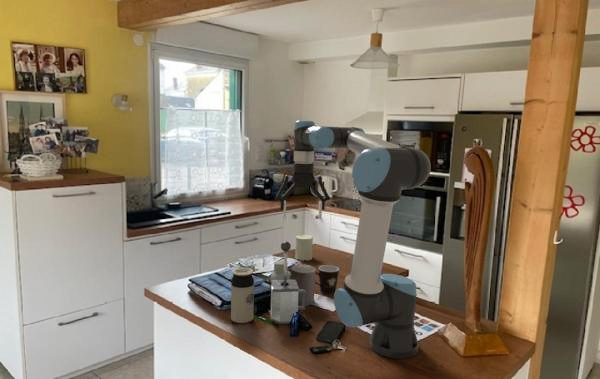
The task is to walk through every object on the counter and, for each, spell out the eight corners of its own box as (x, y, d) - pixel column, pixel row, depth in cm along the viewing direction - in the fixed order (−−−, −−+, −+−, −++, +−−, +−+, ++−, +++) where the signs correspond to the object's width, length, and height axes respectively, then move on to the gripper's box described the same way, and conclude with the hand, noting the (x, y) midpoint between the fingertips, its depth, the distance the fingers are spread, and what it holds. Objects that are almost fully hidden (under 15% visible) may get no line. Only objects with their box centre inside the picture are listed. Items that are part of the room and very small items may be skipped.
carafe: (306, 324, 152) (307, 288, 150) (271, 325, 150) (272, 289, 148) (302, 311, 161) (303, 278, 159) (269, 313, 160) (269, 279, 158)
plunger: (295, 293, 151) (297, 244, 148) (275, 294, 150) (276, 244, 147) (293, 286, 158) (294, 238, 155) (273, 286, 157) (274, 238, 154)
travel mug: (226, 317, 155) (227, 269, 152) (245, 312, 160) (246, 265, 157) (238, 325, 149) (239, 276, 146) (257, 319, 154) (258, 271, 151)
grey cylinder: (285, 302, 169) (287, 266, 167) (296, 294, 178) (297, 259, 175) (308, 308, 165) (310, 271, 163) (318, 299, 174) (319, 263, 171)
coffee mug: (338, 287, 186) (339, 265, 185) (337, 295, 178) (339, 272, 176) (311, 286, 188) (312, 264, 186) (310, 293, 179) (310, 270, 178)
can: (304, 254, 234) (305, 232, 232) (315, 258, 227) (316, 236, 225) (291, 257, 228) (292, 235, 226) (302, 261, 221) (303, 239, 219)
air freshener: (289, 289, 183) (289, 266, 182) (269, 288, 184) (270, 266, 182) (290, 280, 194) (290, 258, 193) (272, 279, 194) (272, 258, 193)
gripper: (334, 162, 165) (332, 216, 168) (269, 161, 162) (269, 216, 165) (338, 163, 158) (336, 220, 160) (270, 162, 155) (269, 220, 158)
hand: (302, 218), depth 163 cm, fingers open, 13 cm apart
